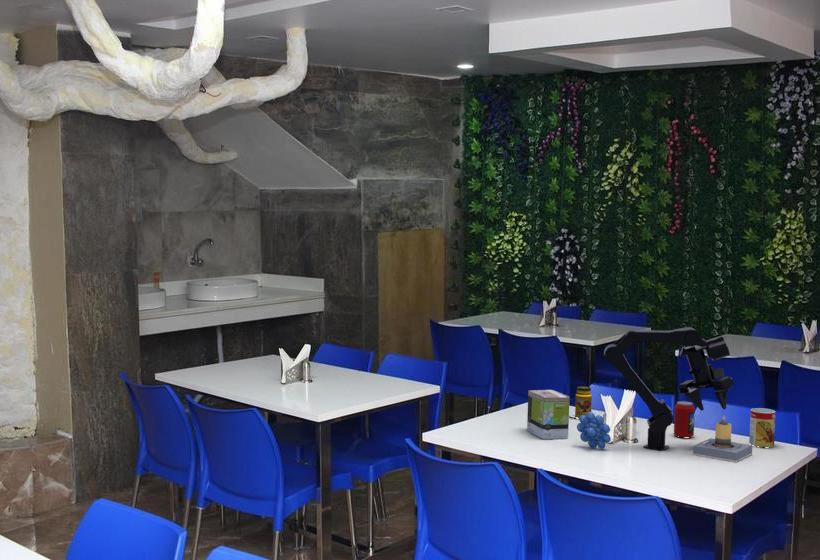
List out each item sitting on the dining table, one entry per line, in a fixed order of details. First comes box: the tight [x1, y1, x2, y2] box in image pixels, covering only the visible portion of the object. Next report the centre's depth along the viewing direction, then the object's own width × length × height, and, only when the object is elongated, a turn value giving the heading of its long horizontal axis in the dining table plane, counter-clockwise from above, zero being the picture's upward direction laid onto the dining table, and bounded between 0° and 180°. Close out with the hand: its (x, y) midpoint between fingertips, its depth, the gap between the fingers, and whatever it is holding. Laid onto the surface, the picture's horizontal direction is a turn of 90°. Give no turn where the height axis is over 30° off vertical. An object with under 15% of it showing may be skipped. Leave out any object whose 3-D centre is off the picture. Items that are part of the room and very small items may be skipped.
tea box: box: [526, 389, 571, 440], centre depth 331 cm, size 15×10×15 cm
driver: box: [714, 415, 732, 448], centre depth 306 cm, size 5×5×12 cm
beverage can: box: [673, 400, 696, 438], centre depth 330 cm, size 7×7×12 cm
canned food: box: [748, 407, 776, 448], centre depth 319 cm, size 8×8×12 cm
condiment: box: [574, 385, 593, 418], centre depth 359 cm, size 7×8×12 cm
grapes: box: [576, 411, 612, 450], centre depth 311 cm, size 12×7×12 cm, turn 60°
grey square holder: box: [692, 438, 753, 463], centre depth 306 cm, size 14×14×3 cm
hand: (713, 409), depth 310 cm, fingers open, 9 cm apart
